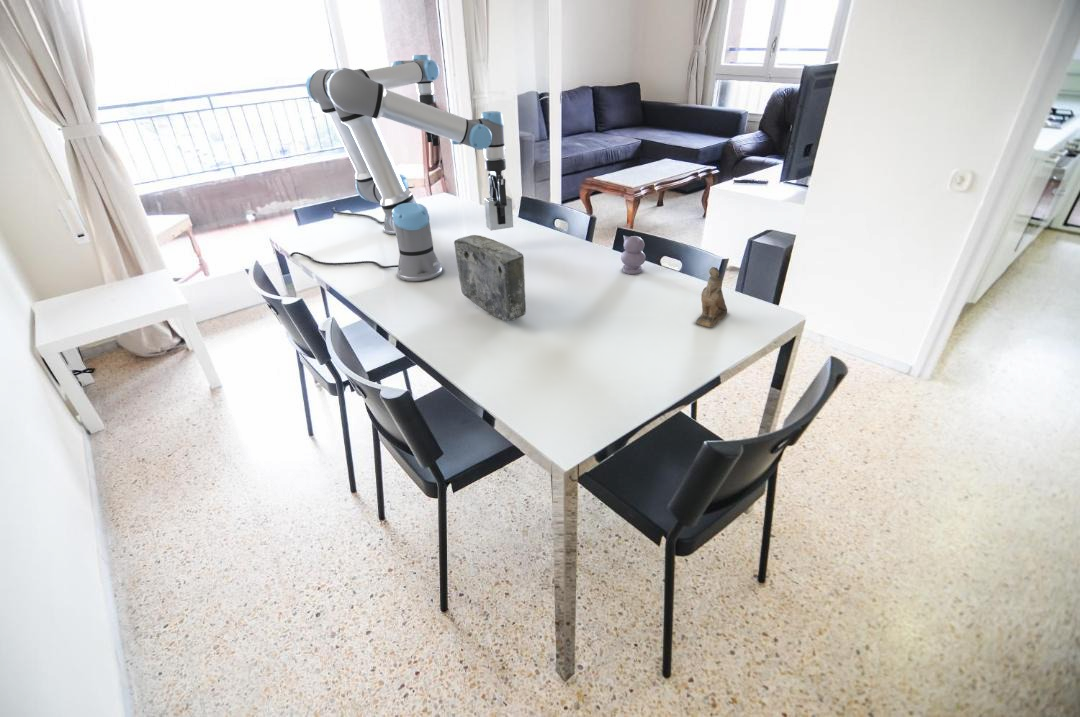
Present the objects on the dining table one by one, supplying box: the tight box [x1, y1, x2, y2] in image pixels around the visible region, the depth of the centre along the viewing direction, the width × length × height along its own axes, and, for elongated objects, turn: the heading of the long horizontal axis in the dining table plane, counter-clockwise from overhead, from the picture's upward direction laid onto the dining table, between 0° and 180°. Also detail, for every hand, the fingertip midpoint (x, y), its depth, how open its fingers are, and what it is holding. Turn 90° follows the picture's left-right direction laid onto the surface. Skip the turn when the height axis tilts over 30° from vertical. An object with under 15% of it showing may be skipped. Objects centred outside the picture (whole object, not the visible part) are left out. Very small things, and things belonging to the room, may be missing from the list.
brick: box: [483, 195, 514, 231], centre depth 192 cm, size 9×6×11 cm, turn 113°
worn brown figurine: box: [695, 266, 728, 328], centre depth 135 cm, size 12×6×18 cm, turn 136°
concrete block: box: [453, 234, 527, 322], centre depth 143 cm, size 27×9×20 cm, turn 36°
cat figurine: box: [620, 234, 646, 275], centre depth 168 cm, size 9×8×12 cm
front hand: (499, 221), depth 193 cm, fingers closed on brick, 5 cm apart
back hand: (433, 144), depth 239 cm, fingers open, 13 cm apart
